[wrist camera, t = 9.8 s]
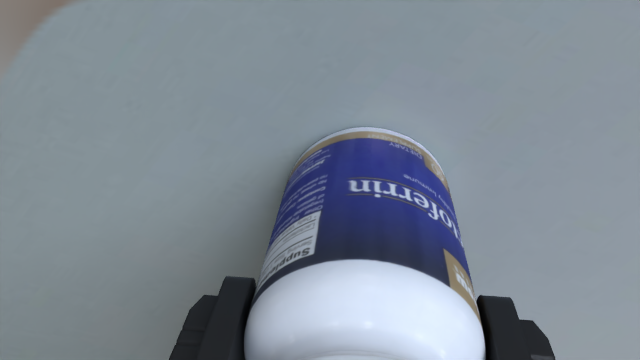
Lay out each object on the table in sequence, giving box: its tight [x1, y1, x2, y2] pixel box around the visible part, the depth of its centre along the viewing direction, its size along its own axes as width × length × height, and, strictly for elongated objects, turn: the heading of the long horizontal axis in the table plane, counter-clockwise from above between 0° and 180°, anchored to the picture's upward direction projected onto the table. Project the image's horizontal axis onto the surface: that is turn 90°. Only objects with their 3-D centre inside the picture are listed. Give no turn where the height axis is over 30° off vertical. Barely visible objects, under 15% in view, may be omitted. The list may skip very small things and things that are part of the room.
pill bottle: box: [244, 127, 486, 360], centre depth 13 cm, size 6×6×10 cm
